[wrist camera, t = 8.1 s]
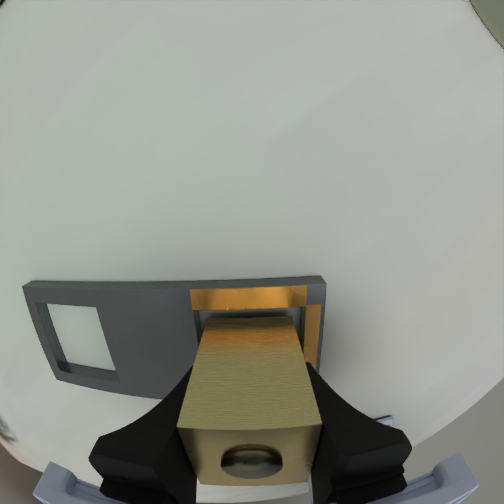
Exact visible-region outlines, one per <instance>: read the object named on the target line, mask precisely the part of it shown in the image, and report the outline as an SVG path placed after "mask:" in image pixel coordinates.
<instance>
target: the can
mask: <svg viewBox="0 0 504 504" xmlns="http://www.w3.org/2000/svg"><path fill="white" fill-rule="evenodd" d="M470 2H471V4H472V6H473V7H474V9H475V11H476V12H477V14H478V16H479V17H480V19H481V20H482V22H483V23H484V24H485V26H486V27H487V29H488V30H489V31H490V33H491V34H492V35H493V36H494V38H495V39H496V40H497V41H498V43H499V44H500V45H501V46H502V47H503V48H504V0H470Z"/></svg>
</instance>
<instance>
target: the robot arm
mask: <svg viewBox="0 0 504 504" xmlns="http://www.w3.org/2000/svg"><path fill="white" fill-rule="evenodd" d="M305 364H306V367H307V371H308V374H309V378H310V381H311V385H312V388H313V392H314V396H315V399H316V403H317V407H318V410H319V414H320V418H321V421H322V427H321V431H320V436H319V440H318V444H317V448H316V452H315V456H314V460H313V464H312V468H311V471H310V475H309V478H308V485H309V491H310V497H311V503H312V504H458V503H460V502H461V501H462V500H463V499H464V498H466V497H467V496H468V495H469V494H470V493H471V492H473V491H474V490H475V489H476V488H477V487H478V486H479V483H478V482H477V480H476V478H475V476H474V475H473V473H472V471H471V469H470V468H469V466H468V464H467V463H466V461H465V459H464V458H463V456H462V454H461V453H460V452H458V453H456V454H454V455H453V456H451V457H449V458H447V459H445V460H443V461H442V462H440V463H438V464H437V465H436V466H435V467H434V469H433V470H432V471H431V472H429V473H427V474H424V475H422V476H420V477H417V478H415V479H413V480H410V481H407V482H406V481H405V478H404V476H403V474H402V473H404V468H403V466H402V465H403V463H404V462H405V460H406V459H407V458H408V456H409V454H410V452H411V450H412V446H411V444H410V442H409V440H408V438H407V437H406V435H405V434H404V432H403V431H402V430H399V429H396V428H393V427H391V426H392V424H393V422H394V419H393V417H387V418H383V419H379V420H374V419H372V418H370V417H368V416H366V415H365V414H363V413H361V412H360V411H358V410H357V409H355V408H354V407H352V406H351V405H350V404H348V403H347V402H346V401H345V400H343V399H342V398H341V397H340V396H339V395H338V394H337V393H336V392H335V391H334V390H333V389H332V388H331V387H330V386H329V385H328V384H327V383H326V382H325V381H324V380H323V379H322V377H321V376H320V375H319V374H318V372H317V371H316V370H315V369H314V367H313V366H312V365H311V363H310V362H305ZM193 366H194V365H193ZM193 366H192V367H191V368H190V369H189V370H188V372H187V373H186V374H185V375H184V377H183V378H182V379H181V380H180V382H179V383H178V384H177V385H176V386H175V387H174V389H173V390H172V391H171V392H170V393H169V394H168V395H167V396H166V397H165V398H164V399H163V400H162V401H161V402H160V403H159V404H158V405H156V406H155V407H154V408H153V409H152V410H150V411H149V412H148V413H146V414H145V415H144V416H142V417H140V418H139V419H137V420H136V421H134V422H133V423H131V424H129V425H127V426H125V427H123V428H121V429H119V430H117V431H114V432H111V433H109V434H106V435H103V436H100V437H99V438H98V440H97V442H96V443H95V445H94V447H93V449H92V452H91V454H90V456H89V462H90V463H91V465H92V466H93V467H94V469H95V470H96V471H97V472H98V473H99V474H100V475H101V476H102V478H103V482H102V484H101V487H98V486H95V485H93V484H90V483H87V482H85V481H82V480H80V479H77V477H76V476H75V475H74V474H73V473H72V472H71V471H69V470H68V469H66V468H64V467H62V466H59V465H57V464H55V463H53V462H49V464H48V466H47V467H46V469H45V471H44V473H43V475H42V477H41V479H40V480H39V482H38V484H37V486H36V488H35V490H34V492H33V495H34V496H35V497H36V498H38V499H39V500H40V501H41V502H43V503H44V504H196V485H197V475H196V473H195V471H194V468H193V466H192V464H191V462H190V459H189V457H188V455H187V452H186V450H185V447H184V445H183V442H182V440H181V437H180V435H179V432H178V430H177V423H178V419H179V416H180V412H181V408H182V405H183V401H184V397H185V394H186V390H187V387H188V383H189V380H190V376H191V373H192V369H193Z"/></svg>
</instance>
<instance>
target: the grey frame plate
mask: <svg viewBox="0 0 504 504" xmlns="http://www.w3.org/2000/svg"><path fill="white" fill-rule="evenodd" d="M22 288H23V292H24V295H25V299H26V302H27V306H28V309H29V312H30V315H31V318H32V321H33V324H34V327H35V330H36V332H37V335H38V338H39V340H40V343H41V345H42V348H43V350H44V353H45V355H46V357H47V360H48V362H49V364H50V366H51V369H52V371H53V373H54V375H55V377H56V379H57V380H60V381H64V382H68V383H72V384H76V385H80V386H84V387H88V388H93V389H98V390H103V391H108V392H113V393H119V394H125V395H131V396H138V397H146V398H154V399H164V398H165V397H166V396H167V395H168V394H169V393H170V392H171V391H172V390H173V389H174V387H175V386H176V385H177V384H178V383H179V382H180V380H181V379H182V378H183V377H184V375H185V374H186V373H187V372H188V370H189V369H190V368H191V367H192V366H193V365H194V362H195V359H196V355H197V352H198V348H199V345H200V341H201V338H202V334H201V327H200V320H199V313H198V310H234V309H262V308H282V307H299V306H302V308H301V332H300V346H301V350H302V353H303V357H304V360H305V362H310V363H311V365H312V366H313V367H314V369H315V370H316V371H317V372H318V373H319V365H320V356H321V347H322V336H323V325H324V313H325V299H326V282H325V281H324V279H323V278H322V277H321V276H307V277H288V278H267V279H242V280H211V281H166V282H63V281H30V282H29V283H27V284H25V285H23V286H22ZM46 303H48V304H60V305H73V306H88V307H96V308H97V312H98V316H99V319H100V323H101V326H102V330H103V333H104V336H105V339H106V343H107V346H108V349H109V352H110V355H111V358H112V360H113V363H114V366H115V369H116V371H110V370H103V369H97V368H92V367H86V366H81V365H76V364H71V363H67V361H66V359H65V356H64V354H63V351H62V349H61V346H60V344H59V341H58V338H57V336H56V333H55V330H54V327H53V324H52V321H51V318H50V315H49V312H48V308H47V305H46Z"/></svg>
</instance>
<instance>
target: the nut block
mask: <svg viewBox="0 0 504 504" xmlns="http://www.w3.org/2000/svg"><path fill="white" fill-rule="evenodd" d="M321 427H322V421H321V418H320V414H319V410H318V407H317V403H316V399H315V396H314V392H313V388H312V385H311V381H310V378H309V374H308V371H307V367H306V364H305V360H304V357H303V353H302V350H301V346H300V343H299V339H298V336H297V332H296V329H295V326H294V322H293V319H292V316H280V317H259V318H228V319H207V321H206V324H205V328H204V331H203V335H202V338H201V341H200V345H199V348H198V352H197V355H196V359H195V362H194V366H193V369H192V373H191V376H190V380H189V383H188V387H187V390H186V394H185V397H184V401H183V405H182V408H181V412H180V416H179V419H178V423H177V430H178V432H179V435H180V437H181V440H182V442H183V445H184V447H185V450H186V452H187V455H188V457H189V459H190V462H191V464H192V466H193V468H194V471H195V473H196V475H197V477H198V479H199V481H200V484H208V485H226V486H260V485H279V484H290V483H300V482H308V478H309V475H310V471H311V468H312V464H313V460H314V456H315V452H316V448H317V444H318V440H319V436H320V431H321Z"/></svg>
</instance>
